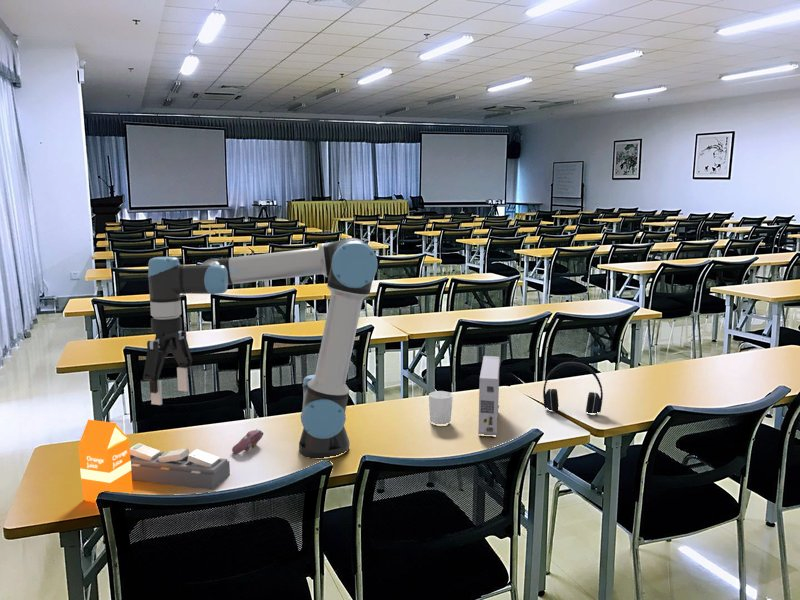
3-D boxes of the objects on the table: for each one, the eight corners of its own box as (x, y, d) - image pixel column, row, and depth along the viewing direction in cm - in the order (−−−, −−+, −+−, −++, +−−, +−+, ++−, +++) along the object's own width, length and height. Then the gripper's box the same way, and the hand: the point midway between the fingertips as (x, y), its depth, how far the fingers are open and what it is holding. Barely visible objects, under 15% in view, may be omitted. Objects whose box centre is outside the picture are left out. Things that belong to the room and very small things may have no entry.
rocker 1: (159, 456, 174) (160, 450, 174) (150, 462, 170) (151, 456, 170) (137, 448, 175) (138, 442, 175) (128, 453, 171) (129, 448, 171)
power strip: (230, 474, 172) (229, 457, 172) (212, 489, 164) (211, 471, 163) (140, 464, 179) (139, 447, 178) (119, 478, 170) (118, 460, 170)
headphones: (541, 413, 221) (544, 362, 218) (543, 407, 227) (545, 358, 224) (601, 419, 215) (604, 367, 212) (601, 412, 222) (604, 362, 219)
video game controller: (241, 460, 185) (250, 442, 183) (229, 452, 186) (237, 433, 184) (260, 448, 195) (268, 430, 192) (248, 440, 196) (256, 422, 193)
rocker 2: (189, 453, 171) (187, 447, 171) (181, 459, 168) (179, 453, 167) (168, 457, 173) (166, 451, 173) (159, 463, 170) (157, 457, 169)
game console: (498, 411, 223) (500, 356, 220) (496, 440, 197) (498, 378, 193) (482, 410, 224) (483, 355, 221) (478, 439, 198) (479, 378, 194)
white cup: (457, 424, 210) (457, 395, 208) (438, 429, 206) (438, 400, 204) (442, 417, 217) (442, 389, 215) (423, 422, 212) (424, 393, 211)
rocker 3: (218, 462, 170) (219, 457, 169) (210, 469, 166) (211, 463, 166) (195, 454, 171) (196, 448, 171) (187, 460, 167) (188, 454, 167)
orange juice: (105, 487, 165) (99, 414, 162) (133, 491, 163) (127, 417, 159) (82, 500, 158) (75, 424, 155) (111, 505, 155) (105, 428, 152)
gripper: (179, 308, 176) (183, 383, 180) (123, 324, 154) (129, 410, 158) (203, 309, 175) (206, 385, 178) (150, 326, 152) (155, 413, 156)
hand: (170, 397), depth 168 cm, fingers open, 11 cm apart
